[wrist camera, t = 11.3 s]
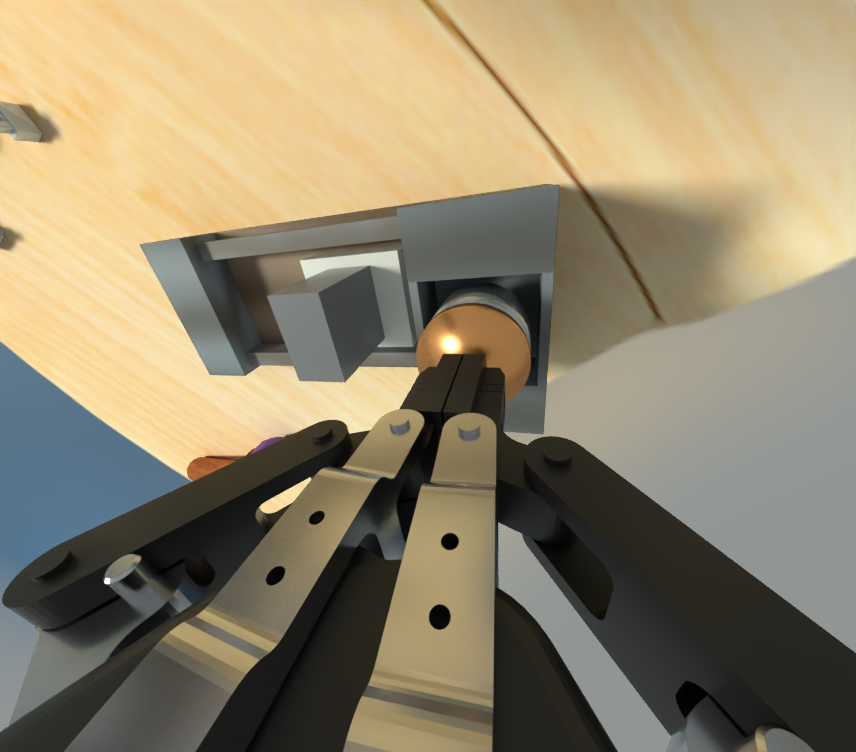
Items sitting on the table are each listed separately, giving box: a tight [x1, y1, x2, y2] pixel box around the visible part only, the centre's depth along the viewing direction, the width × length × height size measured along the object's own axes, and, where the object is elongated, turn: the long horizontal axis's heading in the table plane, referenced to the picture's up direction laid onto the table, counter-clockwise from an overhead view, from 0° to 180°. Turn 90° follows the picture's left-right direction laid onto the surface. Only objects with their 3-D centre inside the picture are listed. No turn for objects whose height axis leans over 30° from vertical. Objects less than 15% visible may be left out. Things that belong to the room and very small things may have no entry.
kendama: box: [187, 437, 286, 481], centre depth 39 cm, size 6×6×20 cm
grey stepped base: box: [139, 184, 560, 434], centre depth 21 cm, size 11×28×10 cm, turn 98°
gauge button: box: [416, 282, 531, 403], centre depth 14 cm, size 4×4×4 cm
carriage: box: [267, 246, 417, 382], centre depth 20 cm, size 6×7×8 cm
